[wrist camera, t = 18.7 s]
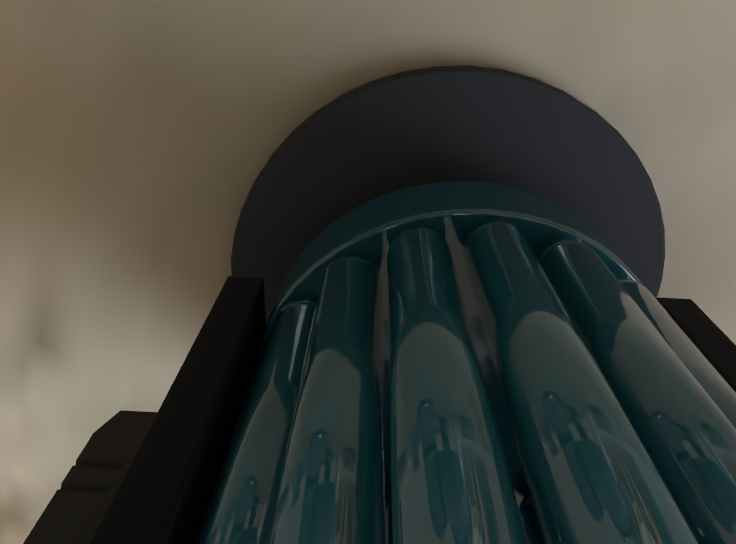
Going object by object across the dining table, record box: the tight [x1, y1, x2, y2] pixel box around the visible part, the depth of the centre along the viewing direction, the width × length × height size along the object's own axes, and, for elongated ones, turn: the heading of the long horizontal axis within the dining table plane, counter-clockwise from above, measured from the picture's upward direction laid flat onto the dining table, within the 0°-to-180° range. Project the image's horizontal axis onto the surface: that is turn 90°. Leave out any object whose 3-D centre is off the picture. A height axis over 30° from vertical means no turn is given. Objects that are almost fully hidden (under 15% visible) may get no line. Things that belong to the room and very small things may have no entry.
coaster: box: [231, 66, 665, 324], centre depth 14 cm, size 11×11×1 cm
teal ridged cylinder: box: [195, 181, 736, 544], centre depth 8 cm, size 9×8×8 cm
